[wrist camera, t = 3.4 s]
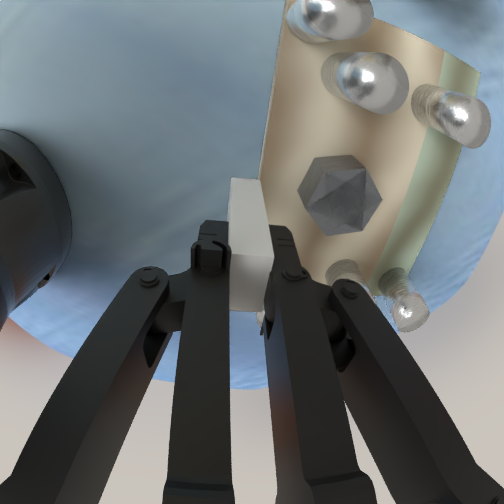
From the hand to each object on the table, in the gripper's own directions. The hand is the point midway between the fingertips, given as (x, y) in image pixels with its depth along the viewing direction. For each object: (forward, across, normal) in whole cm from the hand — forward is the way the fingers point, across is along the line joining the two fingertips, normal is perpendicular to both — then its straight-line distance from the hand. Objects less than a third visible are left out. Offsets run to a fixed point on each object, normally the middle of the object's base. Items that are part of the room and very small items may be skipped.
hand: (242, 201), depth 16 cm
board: (+5, +9, +1) cm, 10 cm away
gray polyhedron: (+4, +6, 0) cm, 7 cm away
